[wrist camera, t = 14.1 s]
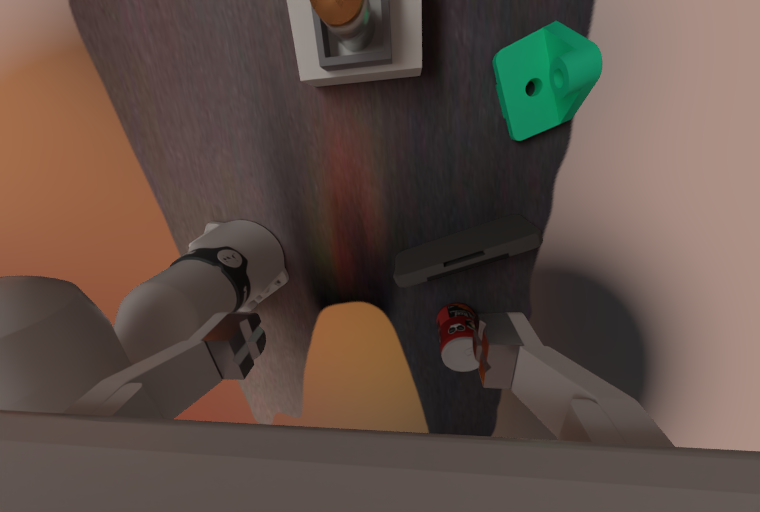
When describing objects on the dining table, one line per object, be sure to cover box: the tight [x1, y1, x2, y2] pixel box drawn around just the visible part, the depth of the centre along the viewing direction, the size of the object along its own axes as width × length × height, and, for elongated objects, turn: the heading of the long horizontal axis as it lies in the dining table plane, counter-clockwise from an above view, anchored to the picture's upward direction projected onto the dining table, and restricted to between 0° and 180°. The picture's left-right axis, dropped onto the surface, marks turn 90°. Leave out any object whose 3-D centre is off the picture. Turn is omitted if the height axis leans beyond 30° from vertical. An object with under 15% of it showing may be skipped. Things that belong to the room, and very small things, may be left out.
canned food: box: [437, 303, 479, 371], centre depth 52 cm, size 8×8×11 cm
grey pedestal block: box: [287, 0, 422, 87], centre depth 34 cm, size 16×10×9 cm, turn 94°
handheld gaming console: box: [394, 214, 543, 288], centre depth 45 cm, size 23×3×10 cm, turn 113°
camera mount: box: [493, 21, 602, 141], centre depth 34 cm, size 12×8×10 cm, turn 24°
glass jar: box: [310, 0, 375, 51], centre depth 28 cm, size 5×5×10 cm
